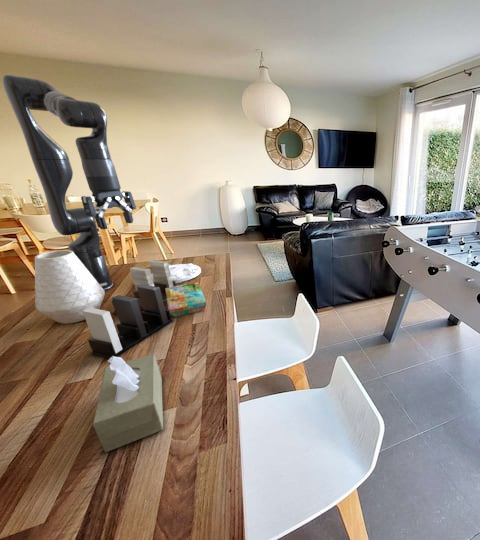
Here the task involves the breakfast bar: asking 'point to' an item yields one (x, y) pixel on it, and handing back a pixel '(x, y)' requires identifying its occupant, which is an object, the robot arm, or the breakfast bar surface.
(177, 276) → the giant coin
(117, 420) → the tissue box
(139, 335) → the grey rack
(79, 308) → the vase
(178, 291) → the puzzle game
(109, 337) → the white book
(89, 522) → the breakfast bar surface
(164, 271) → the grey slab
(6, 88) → the robot arm
